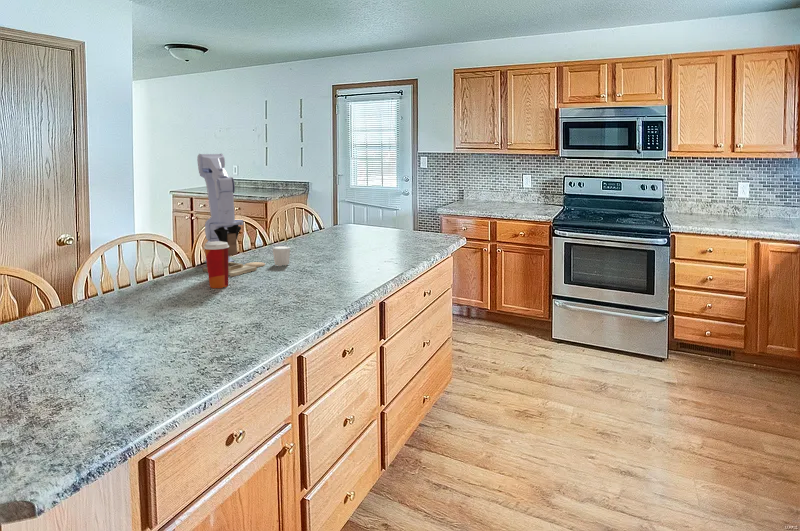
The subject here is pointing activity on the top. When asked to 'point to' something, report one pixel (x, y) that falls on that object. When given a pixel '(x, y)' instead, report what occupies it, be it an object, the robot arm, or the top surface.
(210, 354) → the top surface
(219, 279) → the coffee cup
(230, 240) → the walnut post
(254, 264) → the cork pad
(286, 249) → the white tapered cup
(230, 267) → the pocket board
